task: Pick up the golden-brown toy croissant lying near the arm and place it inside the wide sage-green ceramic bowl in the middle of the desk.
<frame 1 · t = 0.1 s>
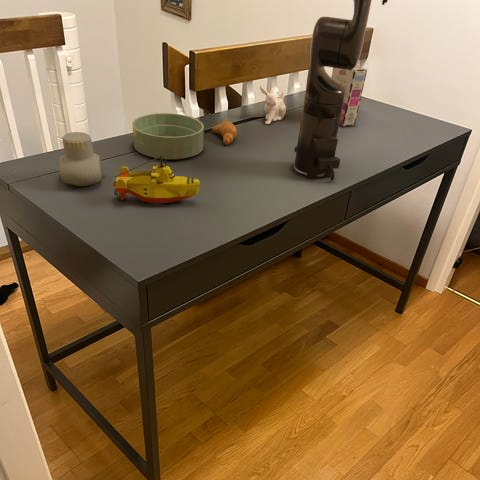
hand: (369, 1, 142), 31 cm above the table, tool tilted 20°, fingers open, 8 cm apart
rabbit figurine: (270, 118, 151), on the table
toy boat: (157, 201, 102), on the table
candy bar box: (339, 121, 153), on the table
croissant: (227, 138, 134), on the table
bowl: (169, 147, 125), on the table
air freshener: (83, 181, 107), on the table
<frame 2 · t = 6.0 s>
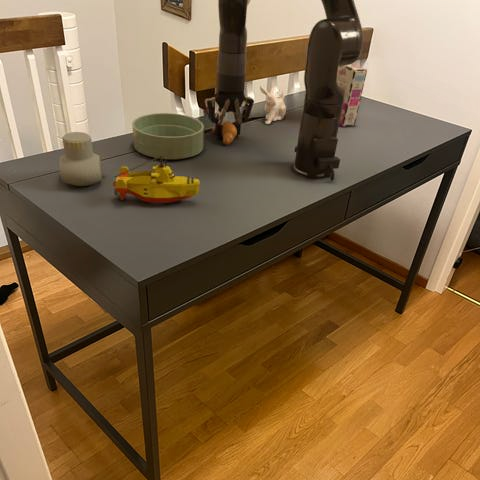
hand: (227, 136, 133), 1 cm above the table, tool pointing down, fingers closed on croissant, 4 cm apart
croissant: (227, 138, 134), on the table, touching gripper
everything else where it was.
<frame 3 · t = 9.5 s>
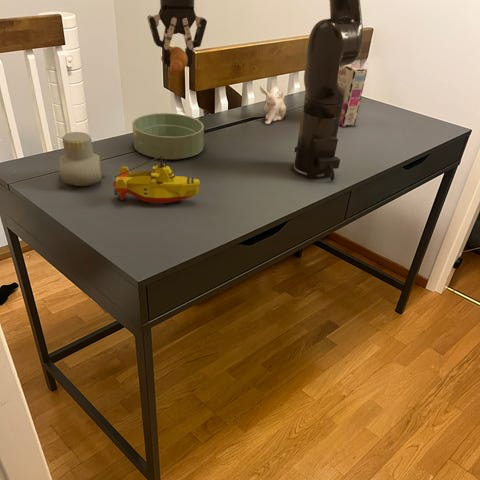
hand: (177, 65, 115), 19 cm above the table, tool pointing down, fingers closed on croissant, 4 cm apart
croissant: (177, 68, 115), point 19 cm above the table, touching gripper
everything else where it was.
when the fingers open (1 cm above the table, at t = 13.0 s): croissant stays where it is, resting on bowl.
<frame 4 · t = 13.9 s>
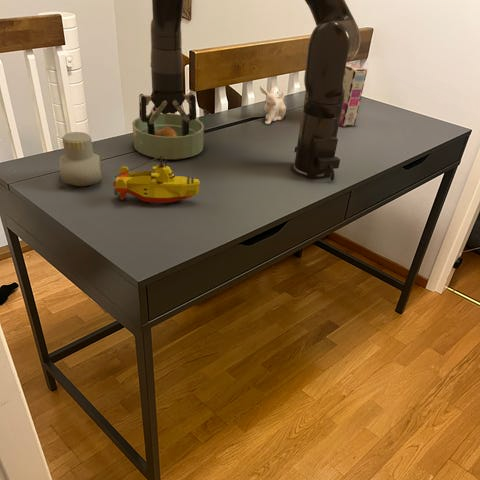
hand: (168, 136, 123), 3 cm above the table, tool pointing down, fingers open, 8 cm apart
croissant: (168, 145, 125), point 1 cm above the table, touching bowl
everything else where it was.
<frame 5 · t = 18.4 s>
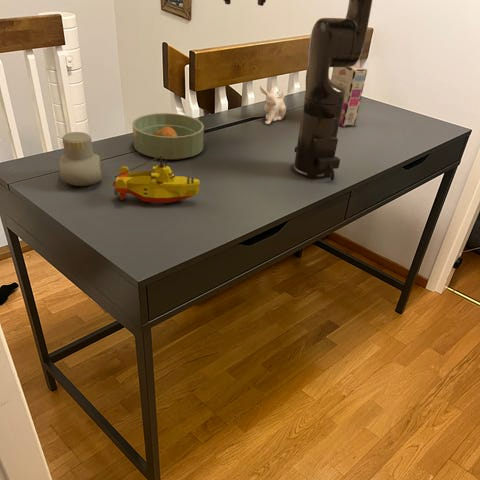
hand: (244, 4, 113), 32 cm above the table, tool pointing down, fingers open, 8 cm apart
nothing on the table moved.
at the end: croissant inside the target area in the bowl (0.3 cm from its centre), point 0.6 cm above the bowl's base; the gripper is holding nothing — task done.
